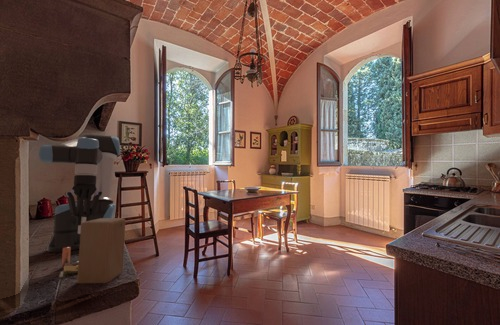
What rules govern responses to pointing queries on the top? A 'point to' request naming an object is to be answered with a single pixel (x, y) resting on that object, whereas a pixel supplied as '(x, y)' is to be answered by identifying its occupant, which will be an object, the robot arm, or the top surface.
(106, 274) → the wooden block
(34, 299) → the top surface
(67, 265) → the crank handle
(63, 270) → the level base
